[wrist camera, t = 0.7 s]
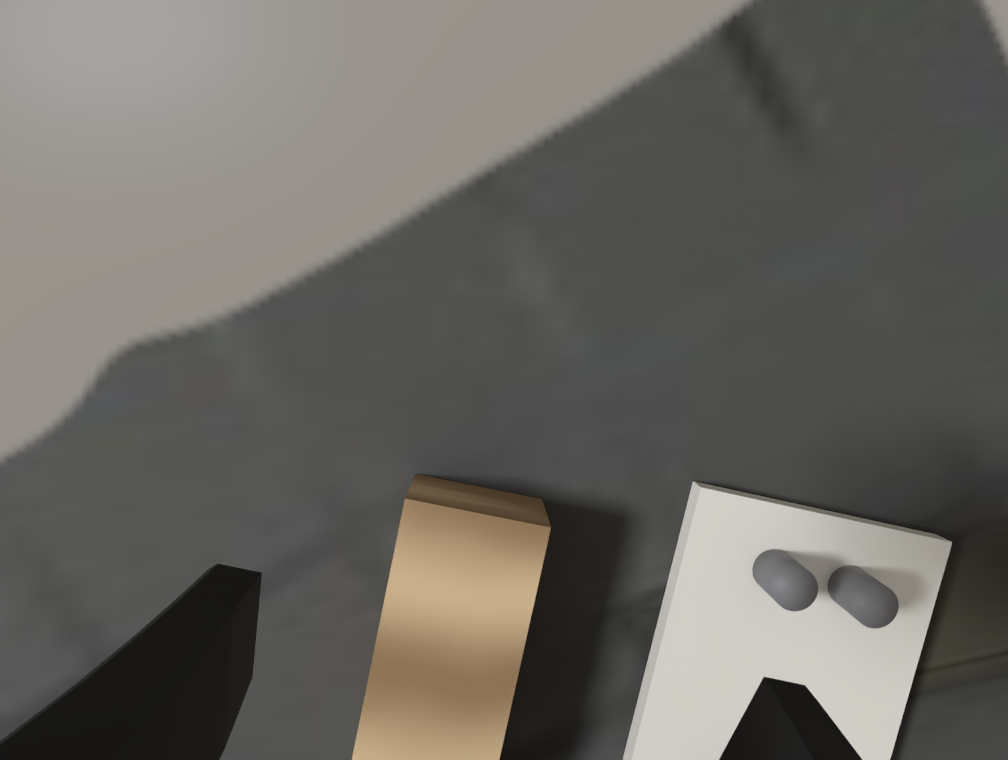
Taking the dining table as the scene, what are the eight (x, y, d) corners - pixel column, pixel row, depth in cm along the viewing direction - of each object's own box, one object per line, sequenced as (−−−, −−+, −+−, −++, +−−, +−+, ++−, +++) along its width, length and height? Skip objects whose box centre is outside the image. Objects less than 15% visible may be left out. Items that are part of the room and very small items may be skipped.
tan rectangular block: (478, 780, 29) (478, 854, 25) (357, 758, 29) (337, 829, 25) (541, 497, 28) (551, 527, 24) (416, 472, 28) (405, 498, 24)
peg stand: (844, 858, 30) (884, 919, 27) (609, 812, 29) (623, 869, 26) (936, 534, 28) (988, 560, 26) (693, 481, 28) (718, 500, 25)
